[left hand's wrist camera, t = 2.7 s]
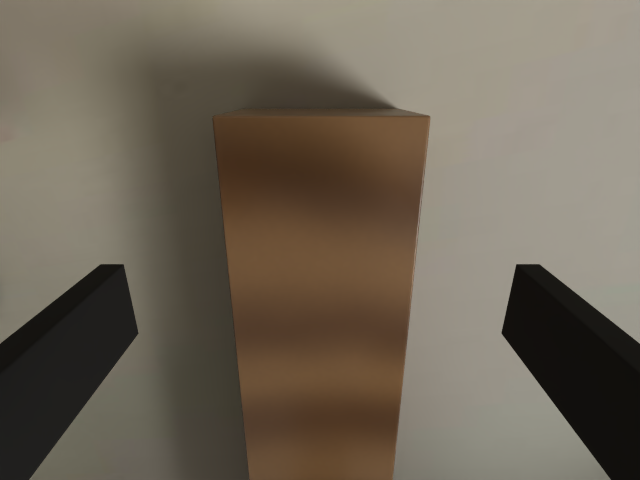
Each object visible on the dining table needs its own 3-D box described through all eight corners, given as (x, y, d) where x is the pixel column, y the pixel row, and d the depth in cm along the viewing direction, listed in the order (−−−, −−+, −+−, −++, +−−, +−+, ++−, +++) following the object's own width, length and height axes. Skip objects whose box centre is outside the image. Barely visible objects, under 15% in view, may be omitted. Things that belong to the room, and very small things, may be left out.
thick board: (243, 108, 22) (211, 115, 16) (398, 108, 22) (431, 115, 16) (278, 594, 41) (270, 688, 34) (362, 594, 41) (371, 688, 34)
